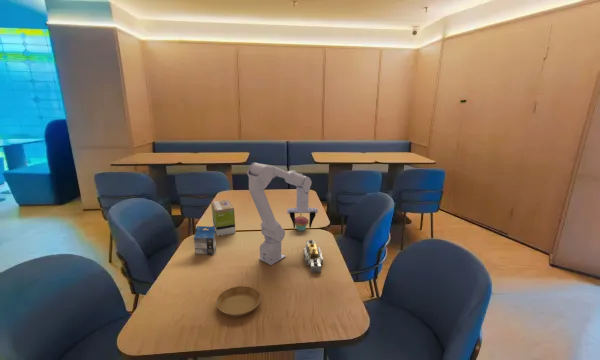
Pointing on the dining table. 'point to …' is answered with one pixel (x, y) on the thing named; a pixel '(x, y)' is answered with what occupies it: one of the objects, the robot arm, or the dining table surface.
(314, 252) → the brass link
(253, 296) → the plant saucer
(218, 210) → the tea box
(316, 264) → the chain
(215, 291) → the dining table surface
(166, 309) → the dining table surface
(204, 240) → the blue and white carton
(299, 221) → the cupcake
